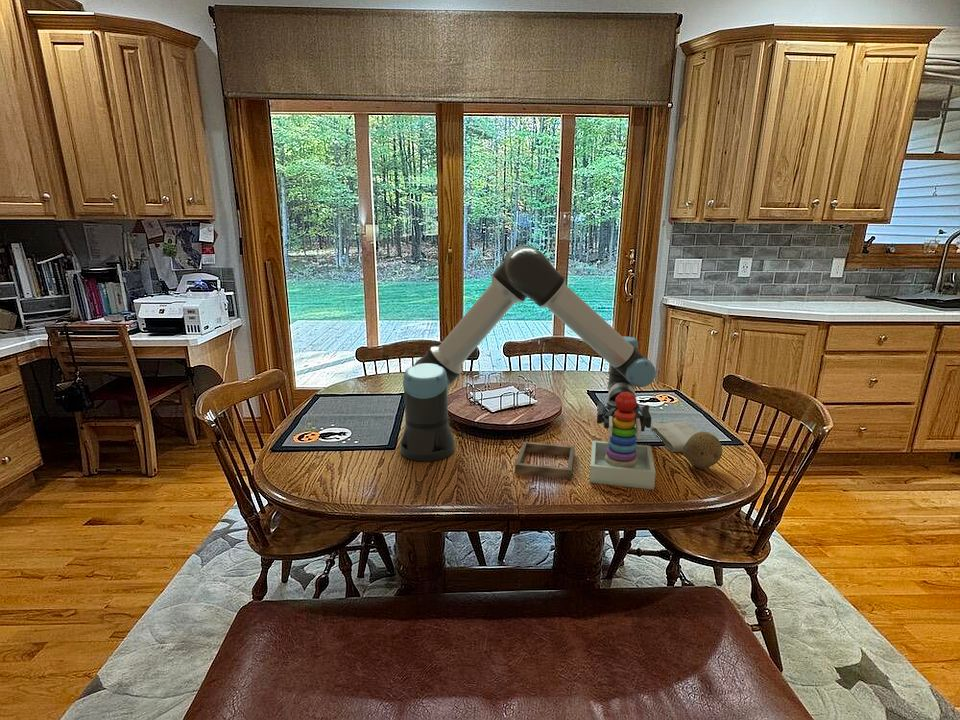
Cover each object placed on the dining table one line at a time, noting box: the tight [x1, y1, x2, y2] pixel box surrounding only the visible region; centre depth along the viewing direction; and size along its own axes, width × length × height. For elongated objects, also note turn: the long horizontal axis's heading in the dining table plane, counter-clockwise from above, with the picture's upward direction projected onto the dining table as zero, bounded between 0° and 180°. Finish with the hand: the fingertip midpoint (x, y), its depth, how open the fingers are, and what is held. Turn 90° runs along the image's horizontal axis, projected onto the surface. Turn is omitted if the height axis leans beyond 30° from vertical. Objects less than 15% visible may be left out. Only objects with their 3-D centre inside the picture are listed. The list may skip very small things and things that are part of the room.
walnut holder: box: [514, 441, 576, 480], centre depth 134 cm, size 14×14×2 cm
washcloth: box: [650, 421, 698, 453], centre depth 149 cm, size 12×18×3 cm, turn 4°
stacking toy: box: [605, 392, 638, 468], centre depth 127 cm, size 8×8×19 cm
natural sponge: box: [683, 431, 723, 470], centre depth 130 cm, size 9×9×10 cm
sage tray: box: [589, 440, 656, 491], centre depth 129 cm, size 15×15×4 cm
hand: (624, 432), depth 122 cm, fingers closed on stacking toy, 6 cm apart
